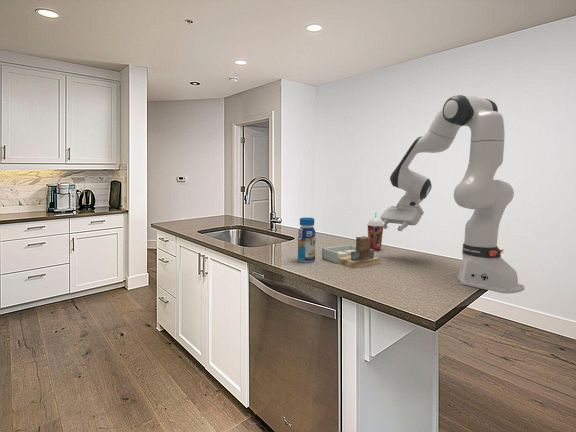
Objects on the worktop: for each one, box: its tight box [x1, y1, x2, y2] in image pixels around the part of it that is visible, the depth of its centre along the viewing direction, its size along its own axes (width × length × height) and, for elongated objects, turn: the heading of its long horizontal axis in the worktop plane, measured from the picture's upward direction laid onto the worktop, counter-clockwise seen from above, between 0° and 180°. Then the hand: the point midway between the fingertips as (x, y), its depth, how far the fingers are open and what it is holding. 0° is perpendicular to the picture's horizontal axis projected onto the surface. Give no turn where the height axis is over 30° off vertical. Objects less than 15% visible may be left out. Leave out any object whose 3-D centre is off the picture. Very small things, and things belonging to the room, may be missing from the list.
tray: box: [321, 244, 356, 264], centre depth 175 cm, size 11×18×5 cm, turn 121°
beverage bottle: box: [297, 217, 317, 263], centre depth 170 cm, size 8×8×20 cm
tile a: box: [344, 250, 355, 256], centre depth 177 cm, size 5×5×3 cm
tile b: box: [338, 251, 348, 258], centre depth 173 cm, size 5×5×3 cm
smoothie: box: [367, 212, 384, 252], centre depth 196 cm, size 8×8×20 cm
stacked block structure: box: [351, 235, 375, 261], centre depth 164 cm, size 4×12×10 cm, turn 121°
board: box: [337, 256, 381, 269], centre depth 167 cm, size 10×16×2 cm, turn 121°
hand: (391, 229), depth 170 cm, fingers open, 8 cm apart
